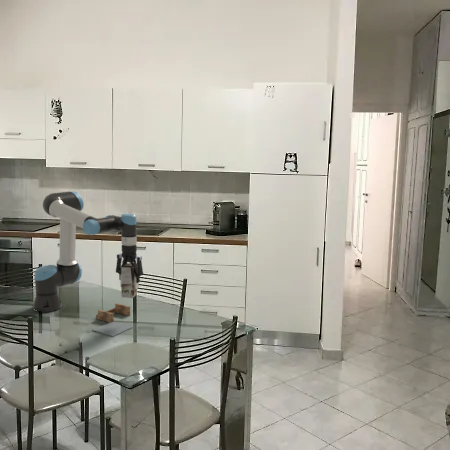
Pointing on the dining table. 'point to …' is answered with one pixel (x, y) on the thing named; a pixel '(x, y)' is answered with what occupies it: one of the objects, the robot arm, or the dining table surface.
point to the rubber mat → (112, 329)
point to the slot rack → (108, 314)
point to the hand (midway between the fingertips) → (129, 287)
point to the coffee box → (127, 281)
